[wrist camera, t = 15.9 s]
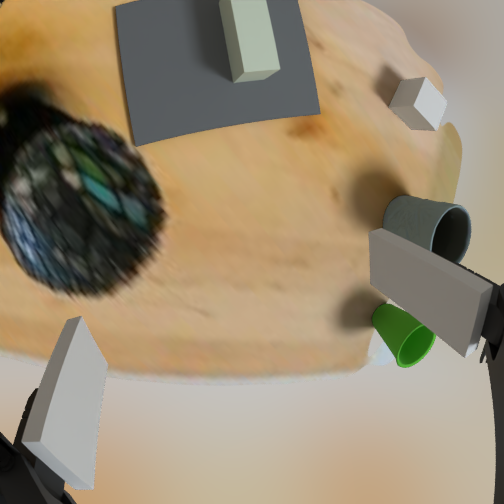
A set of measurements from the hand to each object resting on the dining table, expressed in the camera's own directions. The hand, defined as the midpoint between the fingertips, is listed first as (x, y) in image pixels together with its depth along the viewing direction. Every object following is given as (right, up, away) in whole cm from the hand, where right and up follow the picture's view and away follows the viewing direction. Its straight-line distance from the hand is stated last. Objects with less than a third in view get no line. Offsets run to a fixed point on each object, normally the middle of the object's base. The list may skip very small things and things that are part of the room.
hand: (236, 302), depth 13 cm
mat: (-4, +27, +20) cm, 33 cm away
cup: (+25, -10, +41) cm, 49 cm away
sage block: (+1, +22, +18) cm, 29 cm away
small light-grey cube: (+26, +26, +28) cm, 46 cm away
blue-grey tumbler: (+26, +8, +35) cm, 44 cm away
